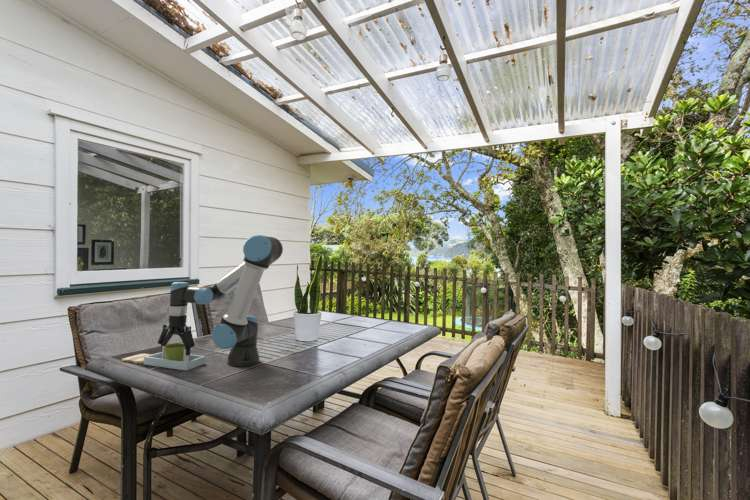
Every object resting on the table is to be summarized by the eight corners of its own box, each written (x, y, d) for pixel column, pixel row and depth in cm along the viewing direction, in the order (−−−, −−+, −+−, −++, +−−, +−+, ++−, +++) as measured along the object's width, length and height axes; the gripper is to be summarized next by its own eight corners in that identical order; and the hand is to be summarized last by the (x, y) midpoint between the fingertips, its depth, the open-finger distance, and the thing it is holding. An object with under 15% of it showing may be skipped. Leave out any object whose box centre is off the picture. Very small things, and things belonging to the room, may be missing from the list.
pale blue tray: (204, 363, 178) (205, 356, 178) (186, 370, 167) (187, 362, 167) (164, 358, 184) (164, 351, 184) (143, 364, 172) (144, 356, 172)
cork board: (160, 357, 184) (161, 355, 184) (141, 363, 173) (141, 361, 173) (141, 355, 187) (142, 353, 187) (121, 361, 176) (121, 358, 176)
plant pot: (176, 367, 170) (177, 348, 170) (158, 365, 172) (159, 346, 172) (190, 362, 179) (191, 344, 179) (173, 360, 181) (174, 342, 181)
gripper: (204, 315, 177) (201, 361, 176) (163, 311, 182) (160, 355, 182) (193, 317, 169) (190, 365, 169) (150, 313, 175) (147, 359, 174)
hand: (175, 360), depth 175 cm, fingers open, 11 cm apart
